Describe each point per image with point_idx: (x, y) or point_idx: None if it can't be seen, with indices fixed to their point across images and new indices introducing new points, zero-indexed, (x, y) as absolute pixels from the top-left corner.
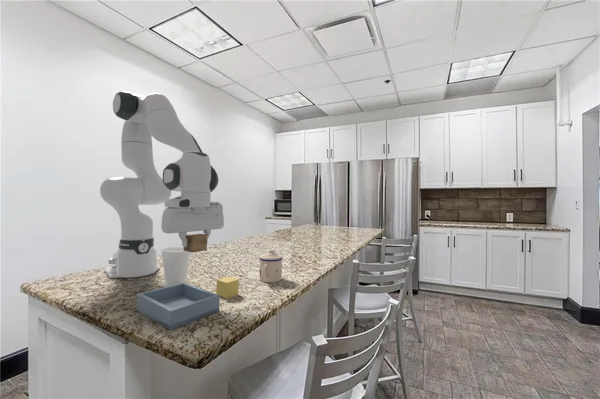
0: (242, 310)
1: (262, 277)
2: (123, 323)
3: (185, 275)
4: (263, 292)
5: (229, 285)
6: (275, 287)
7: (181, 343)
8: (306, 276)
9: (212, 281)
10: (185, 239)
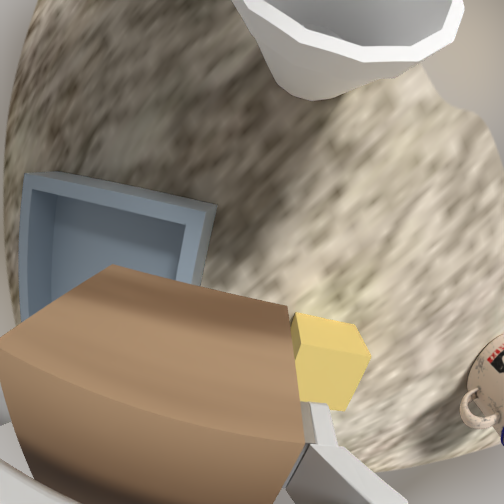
0: None
1: (480, 370)
2: (11, 225)
3: (335, 93)
4: (374, 423)
5: None
6: (426, 422)
7: None
8: None
9: (434, 176)
10: (3, 415)
